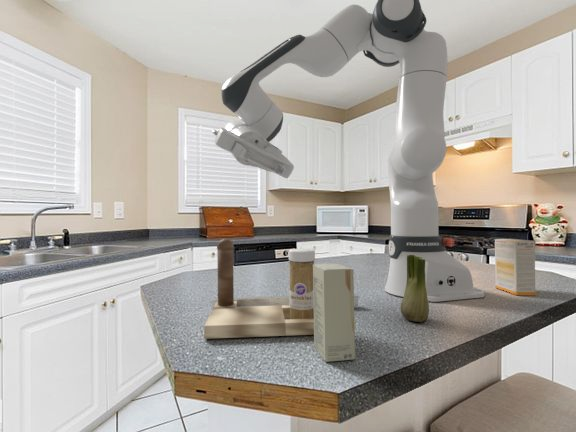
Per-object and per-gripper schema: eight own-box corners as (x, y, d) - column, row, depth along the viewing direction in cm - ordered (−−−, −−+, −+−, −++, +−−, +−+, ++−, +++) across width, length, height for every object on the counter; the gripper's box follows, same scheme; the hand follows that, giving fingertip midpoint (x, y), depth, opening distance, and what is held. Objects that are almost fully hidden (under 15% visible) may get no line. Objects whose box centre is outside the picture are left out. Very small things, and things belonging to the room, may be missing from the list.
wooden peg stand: (318, 308, 65) (317, 236, 65) (333, 333, 51) (333, 242, 51) (216, 311, 63) (216, 238, 63) (204, 338, 49) (203, 244, 49)
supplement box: (536, 295, 75) (536, 240, 75) (516, 295, 75) (515, 240, 75) (512, 288, 83) (512, 238, 83) (494, 288, 84) (494, 238, 84)
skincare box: (356, 361, 42) (355, 269, 42) (324, 363, 41) (324, 270, 41) (340, 342, 48) (340, 262, 48) (312, 344, 48) (312, 263, 48)
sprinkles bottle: (290, 331, 53) (289, 250, 53) (288, 322, 58) (287, 248, 58) (317, 330, 54) (316, 250, 54) (313, 321, 58) (312, 247, 58)
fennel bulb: (429, 326, 55) (429, 257, 55) (399, 323, 57) (399, 256, 57) (428, 317, 60) (428, 253, 60) (401, 314, 62) (400, 252, 62)
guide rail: (355, 305, 68) (355, 294, 68) (358, 307, 66) (358, 295, 66) (213, 310, 65) (213, 298, 65) (212, 312, 64) (212, 300, 64)
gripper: (216, 116, 75) (229, 129, 64) (285, 152, 86) (306, 168, 75) (205, 140, 77) (215, 157, 66) (274, 172, 88) (293, 191, 76)
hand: (264, 163), depth 70 cm, fingers open, 8 cm apart
